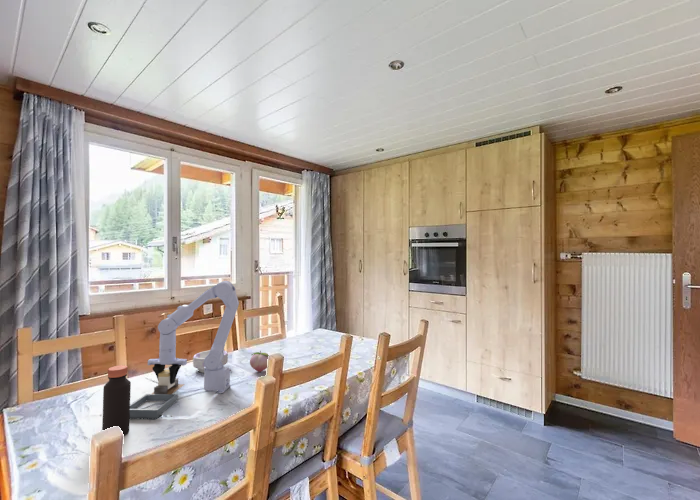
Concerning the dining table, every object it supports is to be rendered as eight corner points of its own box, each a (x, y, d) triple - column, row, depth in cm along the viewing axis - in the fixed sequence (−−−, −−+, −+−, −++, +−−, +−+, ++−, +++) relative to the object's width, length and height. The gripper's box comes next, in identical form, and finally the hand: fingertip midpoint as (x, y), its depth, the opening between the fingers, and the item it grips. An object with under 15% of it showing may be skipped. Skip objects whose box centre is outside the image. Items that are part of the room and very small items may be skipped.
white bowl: (188, 369, 159) (189, 352, 159) (220, 363, 169) (220, 347, 169) (198, 378, 147) (199, 360, 148) (232, 371, 158) (232, 354, 158)
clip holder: (184, 386, 138) (184, 377, 138) (167, 400, 125) (167, 389, 125) (165, 386, 138) (165, 376, 138) (146, 399, 125) (146, 389, 125)
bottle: (98, 442, 96) (101, 372, 96) (105, 431, 102) (107, 365, 102) (126, 437, 98) (128, 369, 99) (131, 427, 105) (133, 363, 105)
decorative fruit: (272, 369, 161) (273, 348, 161) (266, 375, 153) (267, 353, 153) (253, 368, 162) (254, 347, 162) (247, 374, 153) (247, 352, 154)
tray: (177, 402, 123) (177, 394, 123) (157, 419, 110) (157, 410, 110) (145, 402, 123) (145, 394, 123) (121, 418, 110) (121, 409, 110)
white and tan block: (175, 384, 134) (175, 369, 134) (168, 389, 129) (168, 373, 129) (165, 384, 134) (165, 369, 134) (158, 389, 129) (158, 373, 129)
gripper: (190, 346, 136) (190, 379, 135) (155, 345, 136) (154, 379, 135) (181, 350, 129) (181, 386, 128) (144, 350, 129) (143, 385, 128)
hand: (166, 383), depth 131 cm, fingers closed on white and tan block, 4 cm apart
